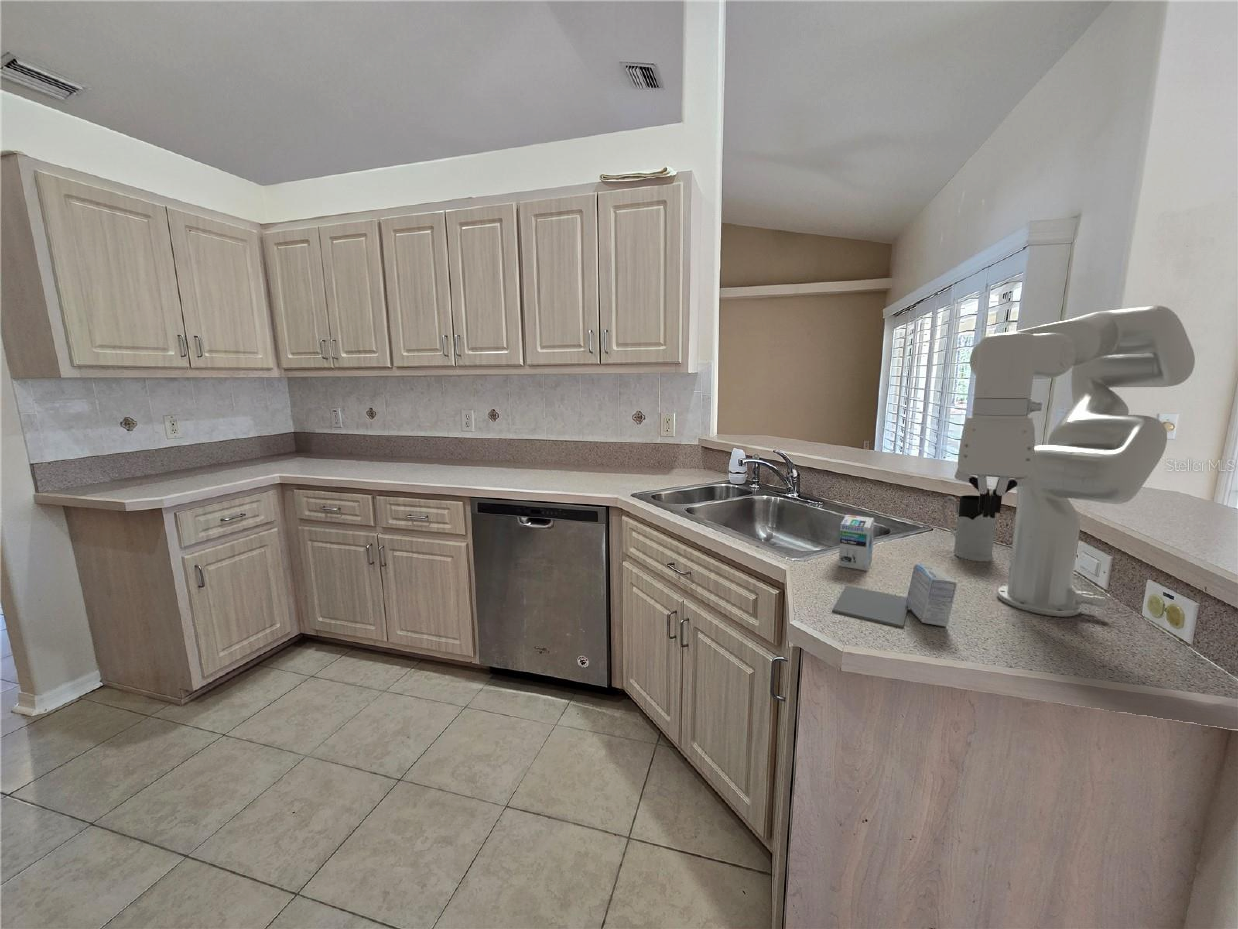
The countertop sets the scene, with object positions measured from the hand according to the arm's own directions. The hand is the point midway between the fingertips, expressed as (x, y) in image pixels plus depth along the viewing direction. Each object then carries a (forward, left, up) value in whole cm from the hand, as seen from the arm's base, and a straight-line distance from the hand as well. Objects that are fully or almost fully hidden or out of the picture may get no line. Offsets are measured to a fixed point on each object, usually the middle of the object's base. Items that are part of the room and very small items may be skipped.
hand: (988, 515), depth 84 cm
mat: (+17, 0, -21) cm, 27 cm away
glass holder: (+2, -48, -21) cm, 53 cm away
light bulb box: (+24, -25, -21) cm, 41 cm away
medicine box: (+8, 0, -21) cm, 22 cm away
